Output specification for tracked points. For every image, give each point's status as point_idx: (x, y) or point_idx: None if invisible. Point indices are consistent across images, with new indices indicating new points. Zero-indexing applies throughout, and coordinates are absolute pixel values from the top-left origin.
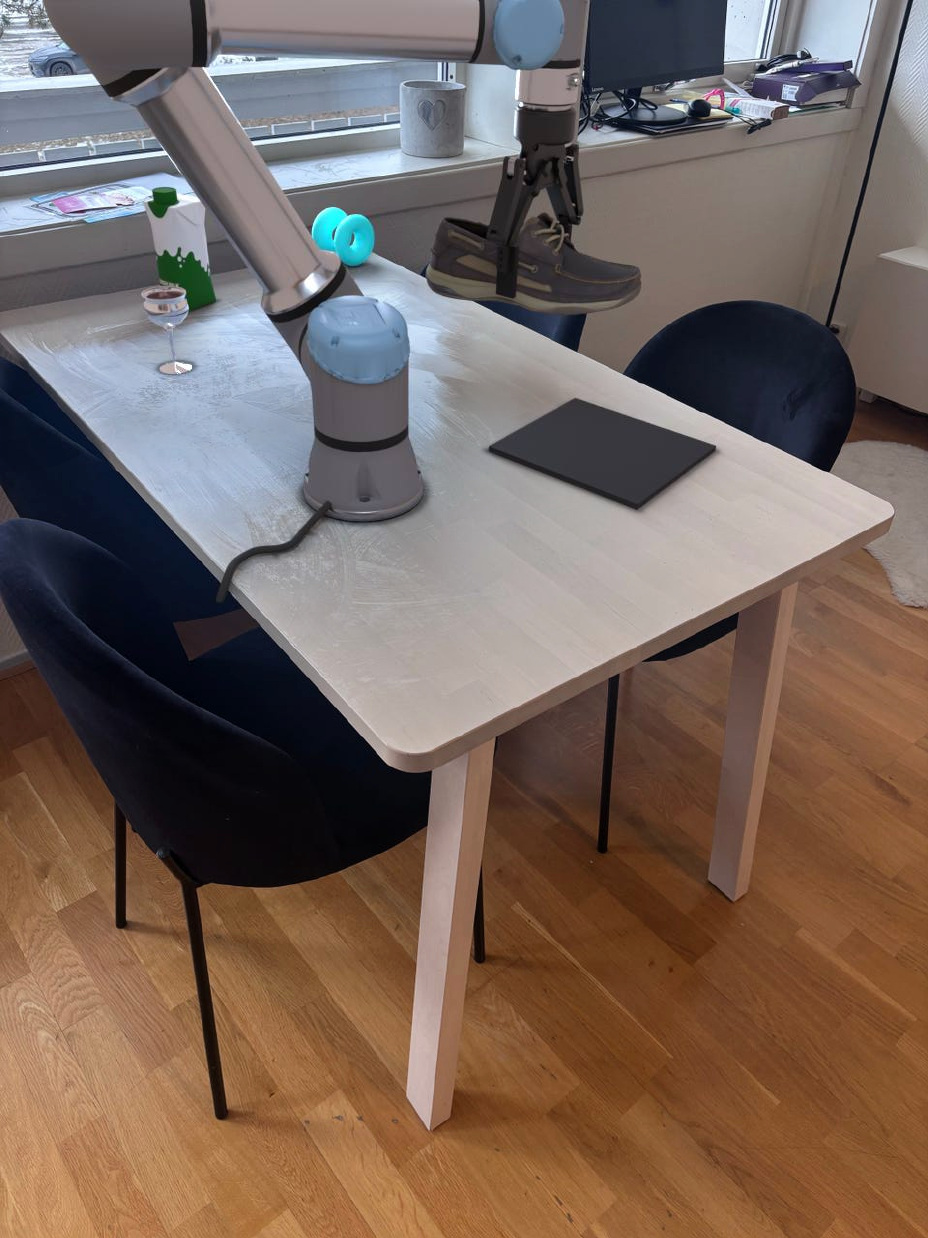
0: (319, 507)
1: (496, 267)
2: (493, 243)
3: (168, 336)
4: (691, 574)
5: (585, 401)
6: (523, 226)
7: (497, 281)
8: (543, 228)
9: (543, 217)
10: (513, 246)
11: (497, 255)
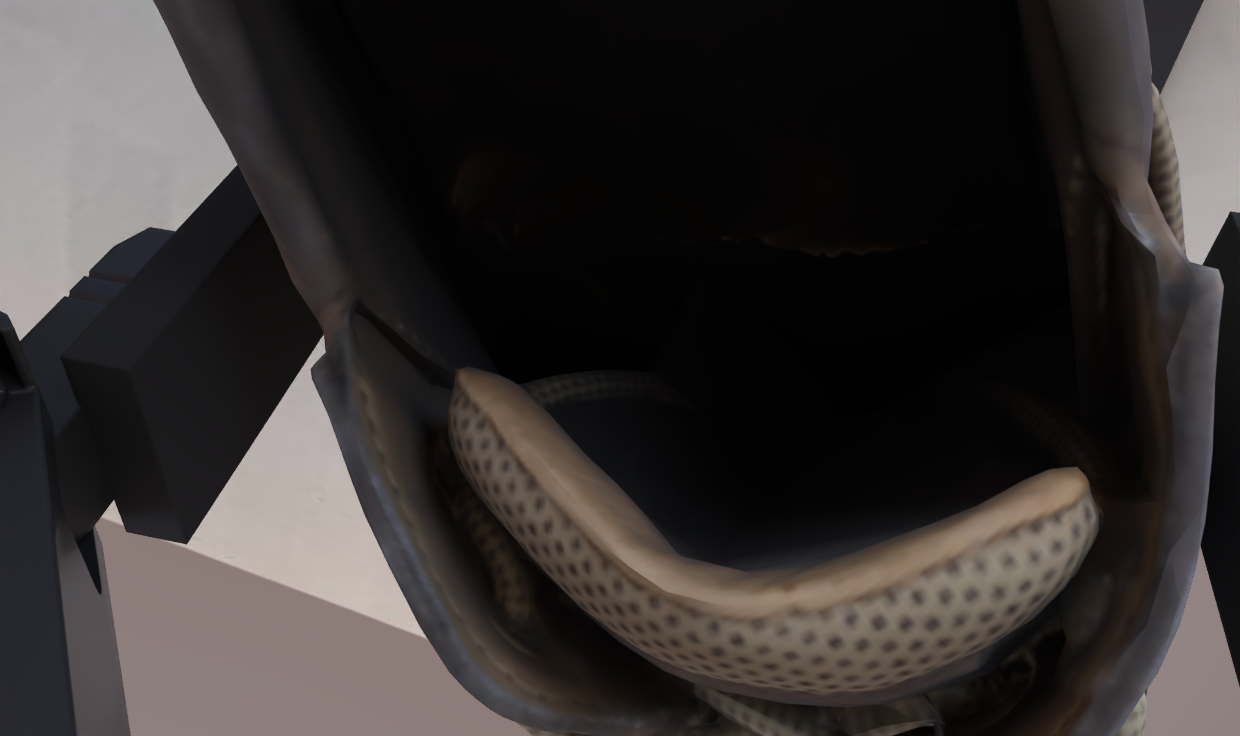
0: None
1: (120, 244)
2: (240, 160)
3: None
4: (327, 542)
5: (1179, 43)
6: (568, 539)
7: None
8: (610, 731)
9: (1072, 690)
10: (124, 508)
11: (45, 325)
